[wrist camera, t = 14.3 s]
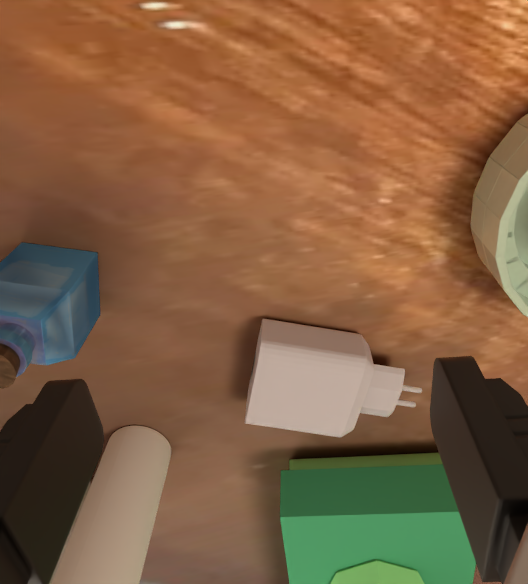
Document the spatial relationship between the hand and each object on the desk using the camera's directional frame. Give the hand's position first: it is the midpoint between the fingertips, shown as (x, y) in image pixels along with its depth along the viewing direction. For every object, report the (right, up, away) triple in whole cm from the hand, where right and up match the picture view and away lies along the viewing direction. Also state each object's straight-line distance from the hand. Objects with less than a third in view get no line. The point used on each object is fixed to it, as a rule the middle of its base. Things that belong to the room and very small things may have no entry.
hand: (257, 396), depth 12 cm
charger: (+7, -4, +35) cm, 36 cm away
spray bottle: (-13, -14, +41) cm, 46 cm away
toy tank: (+13, -28, +48) cm, 57 cm away
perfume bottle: (-17, +4, +31) cm, 36 cm away
